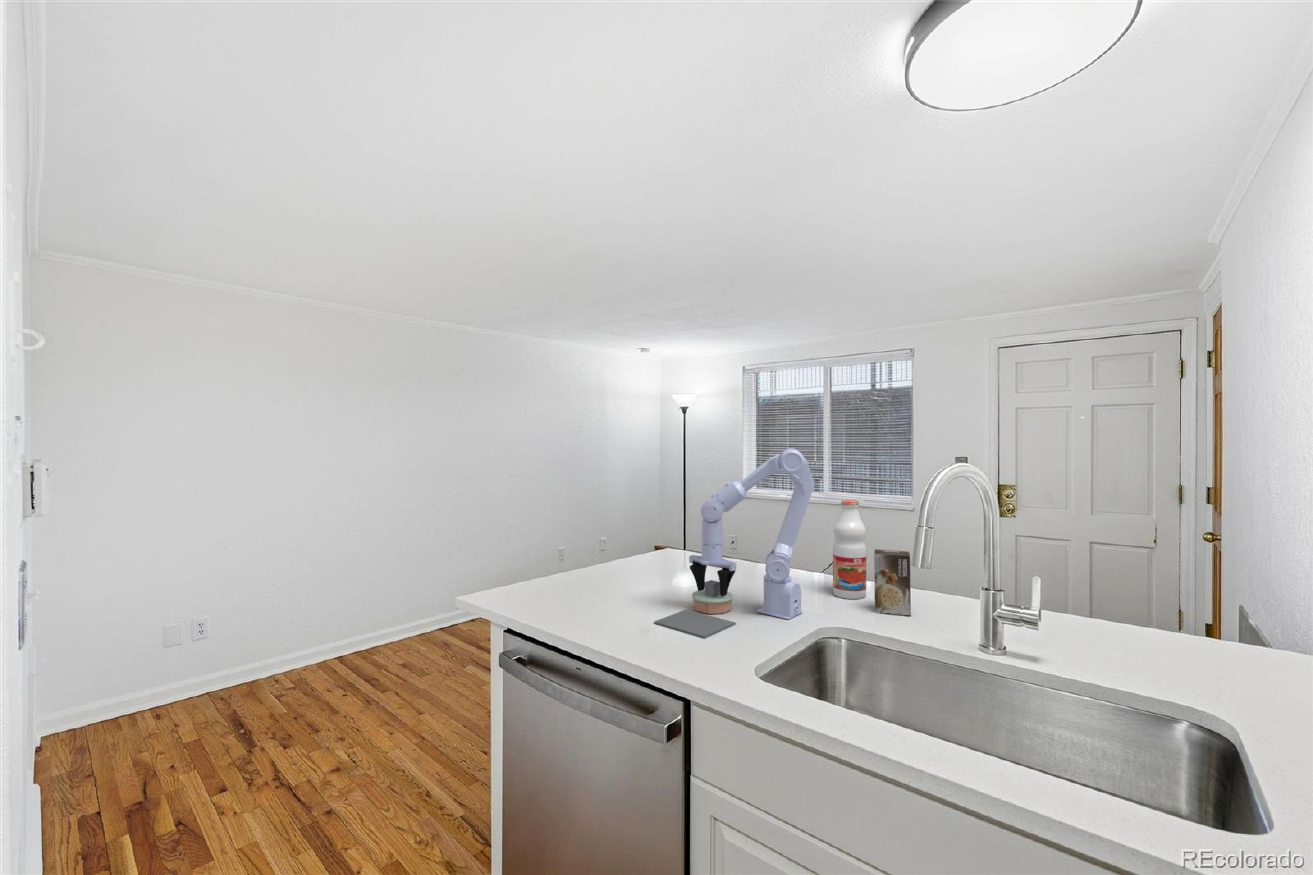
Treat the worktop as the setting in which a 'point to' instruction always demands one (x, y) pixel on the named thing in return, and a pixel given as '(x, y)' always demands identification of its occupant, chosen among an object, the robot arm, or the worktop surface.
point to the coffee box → (892, 582)
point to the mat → (695, 623)
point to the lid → (711, 594)
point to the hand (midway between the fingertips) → (712, 592)
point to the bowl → (712, 607)
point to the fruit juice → (849, 553)
